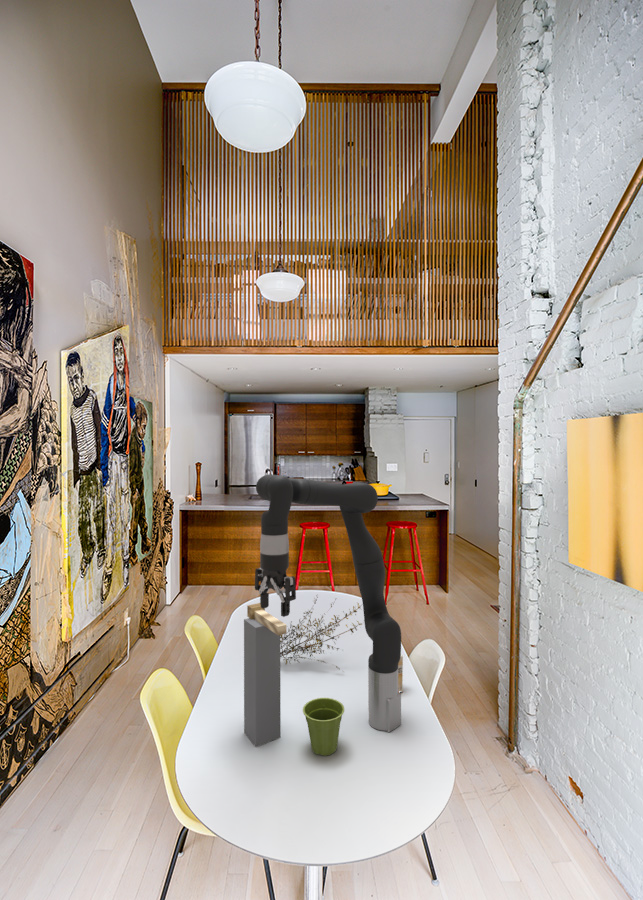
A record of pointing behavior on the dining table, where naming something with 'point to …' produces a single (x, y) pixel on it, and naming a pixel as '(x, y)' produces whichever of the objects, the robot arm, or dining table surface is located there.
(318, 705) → the plant pot
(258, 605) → the hanging bar
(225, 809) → the dining table surface
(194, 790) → the dining table surface
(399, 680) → the supplement box
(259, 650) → the plinth
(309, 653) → the dried plant
